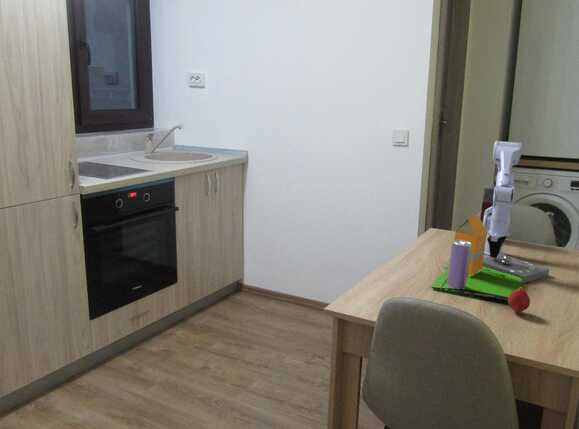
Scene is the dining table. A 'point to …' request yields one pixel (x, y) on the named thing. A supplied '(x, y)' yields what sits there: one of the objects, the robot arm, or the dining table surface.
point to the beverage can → (459, 264)
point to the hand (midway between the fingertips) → (494, 256)
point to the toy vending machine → (487, 198)
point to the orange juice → (473, 241)
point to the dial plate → (516, 268)
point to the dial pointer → (508, 261)
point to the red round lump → (519, 300)
